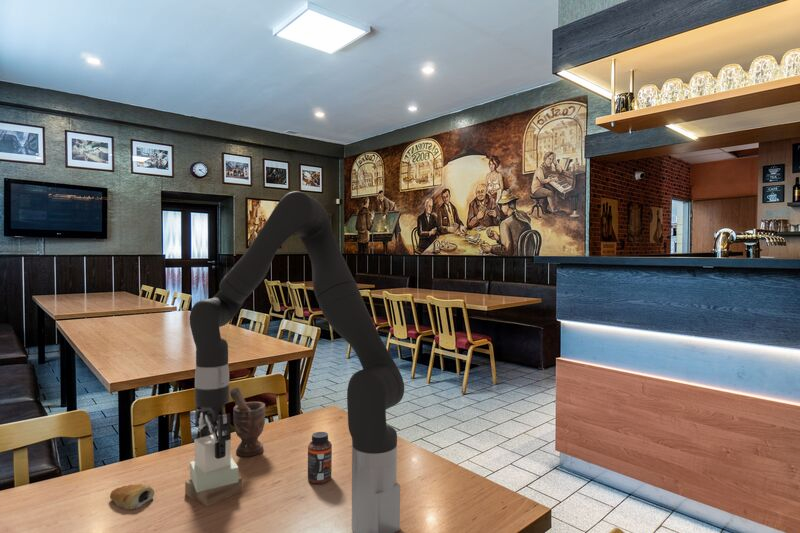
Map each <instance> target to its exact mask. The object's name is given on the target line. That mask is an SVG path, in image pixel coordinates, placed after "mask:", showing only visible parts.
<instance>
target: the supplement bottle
mask: <svg viewBox="0 0 800 533" xmlns="http://www.w3.org/2000/svg"><path fill="white" fill-rule="evenodd" d="M332 448H333V445H332V442H331V441H329V433H328V432H326V431H316V432H314V433H312V434H311V441H310V442H309V443H308V445H307V480H308V481H309V482H311V484H320V485H321V484H324V483H327V482H329V481H330V480H331V479H332V473H333V472H332V468H333V467H332V466H333V465H332V462H333V460H332V457H333V456H332V455H333V454H332V452H333V449H332Z"/></svg>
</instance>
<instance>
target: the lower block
mask: <svg viewBox="0 0 800 533" xmlns="http://www.w3.org/2000/svg"><path fill="white" fill-rule="evenodd" d="M184 486H185V488H184V490H185V492H184V494H185V495H186V496H187V497H189V498H190V499H192V500H194V501H196V502H197V503H200V504H201V505H203V506H205V507H207V508H208V507H210V506H212V505H214V504H216V503H218V502H221V501H222V500H226V499H227V498H229V497H232V496H234V495H235V494H237V493H240V492H242V491H243V477H241V476H239V475H238V482H237V483H233V484H229V485H225V486H221V487H217V488H213V489H209V490H205V491H201V492H196V489H195V487H194V485H193V482H192V480H191V478H190V479H188V480H186V481H185V483H184Z"/></svg>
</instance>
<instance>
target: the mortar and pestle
mask: <svg viewBox="0 0 800 533" xmlns="http://www.w3.org/2000/svg"><path fill="white" fill-rule="evenodd" d="M229 395H230V397H231V399H232V400H233V402H234V403H235V404H236V405H235V406H234V407H233V413H232V414H233V416H232V417H233V426H234V430H235V434H236V436H237V437H238V438H239V439H240V440H241V442H240V443H239V445H238V446H237V448H236V450H235V453H236V454H237V455H238V456H240V457H247V458H248V457H253V456H256V455H259V454H260V453H262V452H263V451H264V444H263V443H262V441H260V440H259V437H260V436H261V435H262V433H263V431H264V428H265V425H266V424H265V423H266V403H264V402H263V401H262V402H261V401H248V402H247V401H246V400H245V397H244V394H243V391H242V390H241V389H240V388H239V387H234V388H232V389H231V390H230V391H229Z"/></svg>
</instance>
